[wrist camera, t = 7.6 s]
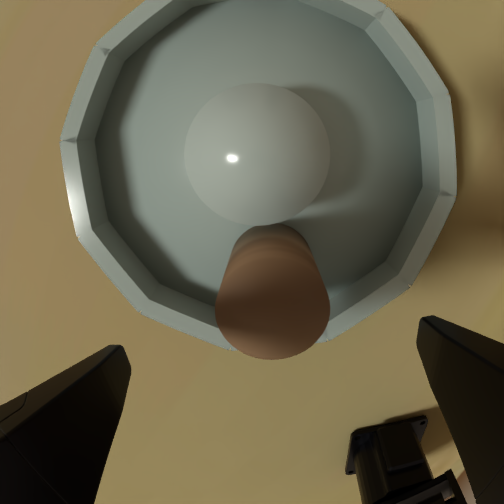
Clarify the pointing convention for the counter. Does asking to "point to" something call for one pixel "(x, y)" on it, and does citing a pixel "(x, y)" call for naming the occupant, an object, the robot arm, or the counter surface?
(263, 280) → the brown rounded short cylinder
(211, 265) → the groove tray
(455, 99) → the counter surface
